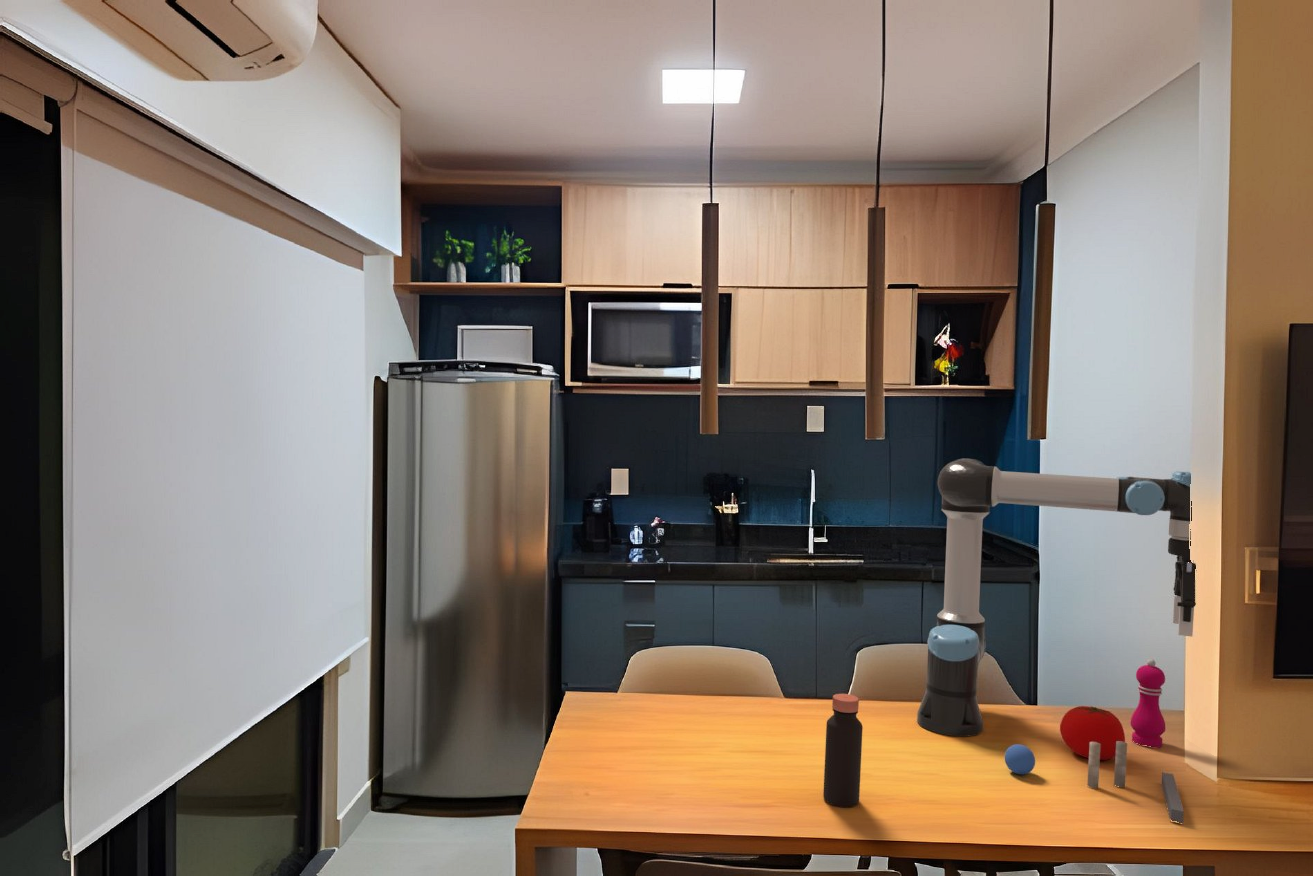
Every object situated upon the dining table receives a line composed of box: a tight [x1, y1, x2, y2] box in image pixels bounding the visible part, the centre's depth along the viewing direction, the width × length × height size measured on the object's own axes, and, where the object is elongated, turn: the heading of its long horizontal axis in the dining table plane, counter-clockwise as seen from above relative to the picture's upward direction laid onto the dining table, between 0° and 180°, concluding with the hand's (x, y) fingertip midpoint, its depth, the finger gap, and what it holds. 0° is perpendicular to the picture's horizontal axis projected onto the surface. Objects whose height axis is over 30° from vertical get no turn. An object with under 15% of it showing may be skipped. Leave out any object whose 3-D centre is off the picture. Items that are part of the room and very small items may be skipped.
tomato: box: [1059, 705, 1126, 761], centre depth 198 cm, size 12×13×11 cm
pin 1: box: [1086, 742, 1101, 789], centre depth 181 cm, size 2×2×9 cm
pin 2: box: [1113, 741, 1128, 788], centre depth 182 cm, size 2×2×9 cm
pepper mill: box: [1130, 658, 1166, 748], centre depth 207 cm, size 7×7×20 cm
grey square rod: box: [1160, 771, 1185, 824], centre depth 174 cm, size 2×20×2 cm, turn 154°
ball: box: [1004, 744, 1036, 776], centre depth 186 cm, size 6×6×6 cm
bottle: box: [822, 693, 864, 808], centre depth 169 cm, size 7×7×20 cm
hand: (1182, 629), depth 204 cm, fingers open, 13 cm apart
